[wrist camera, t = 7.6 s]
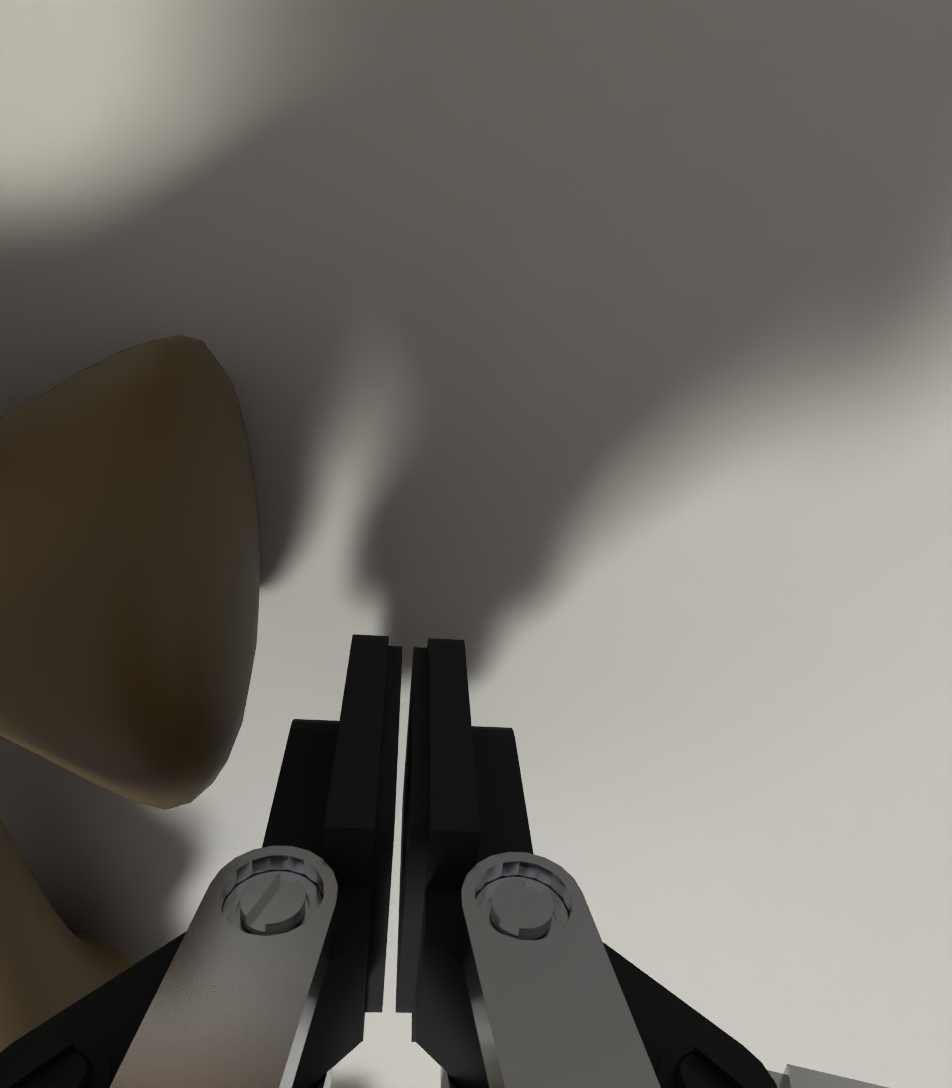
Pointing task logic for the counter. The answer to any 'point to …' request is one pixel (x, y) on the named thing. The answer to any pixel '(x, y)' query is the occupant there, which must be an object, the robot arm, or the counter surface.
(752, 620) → the counter surface
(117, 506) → the kendama
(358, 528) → the counter surface
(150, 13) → the counter surface
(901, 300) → the counter surface
